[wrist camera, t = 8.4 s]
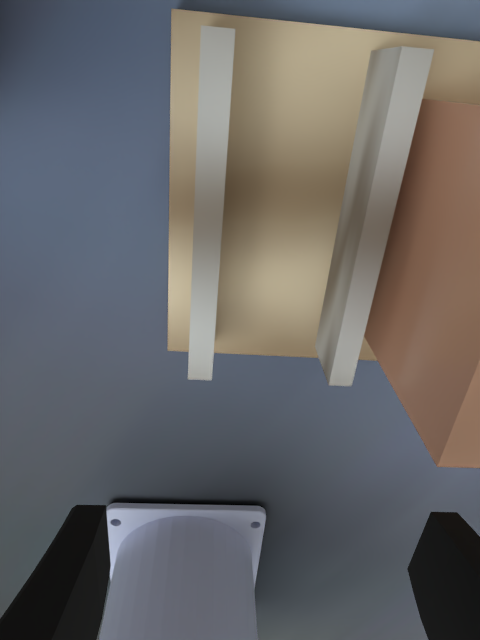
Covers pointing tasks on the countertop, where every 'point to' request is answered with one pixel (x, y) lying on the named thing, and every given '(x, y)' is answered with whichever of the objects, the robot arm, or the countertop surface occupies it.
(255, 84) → the dish rack
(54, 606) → the robot arm
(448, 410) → the upright peach slab
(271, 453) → the countertop surface
